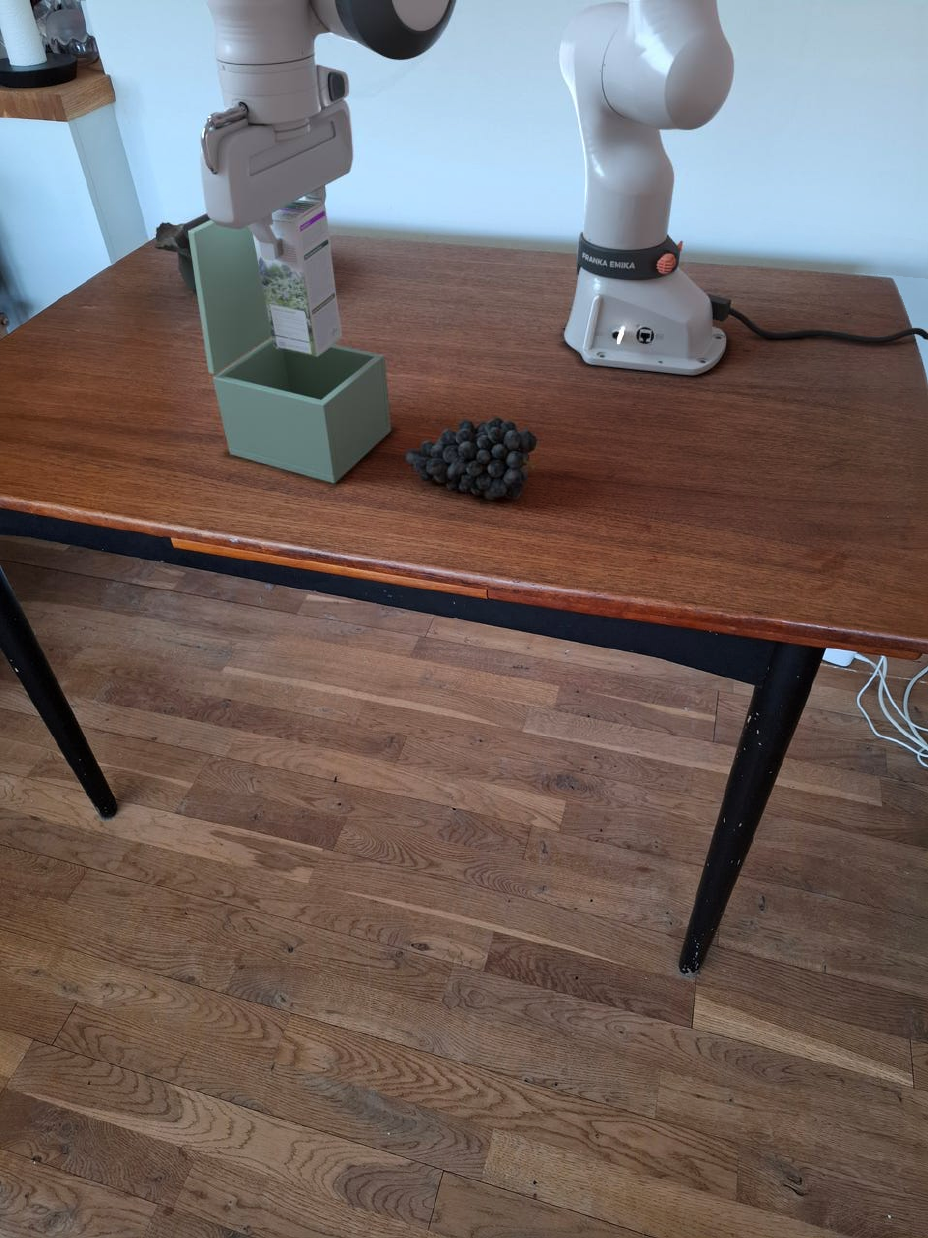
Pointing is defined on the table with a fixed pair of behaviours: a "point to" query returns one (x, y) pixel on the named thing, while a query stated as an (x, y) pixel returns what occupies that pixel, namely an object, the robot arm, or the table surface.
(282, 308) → the syrup box
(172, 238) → the stone bowl
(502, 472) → the fruit
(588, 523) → the table surface
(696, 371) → the robot arm
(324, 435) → the chest
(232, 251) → the lid
